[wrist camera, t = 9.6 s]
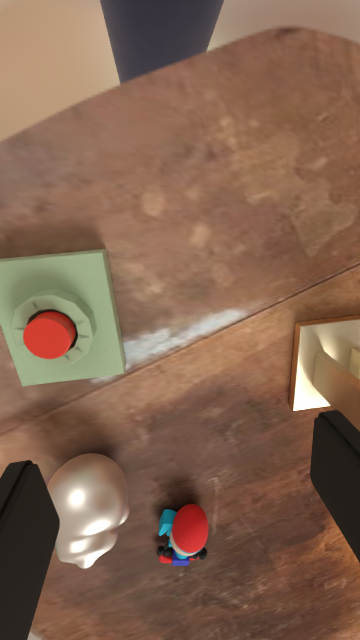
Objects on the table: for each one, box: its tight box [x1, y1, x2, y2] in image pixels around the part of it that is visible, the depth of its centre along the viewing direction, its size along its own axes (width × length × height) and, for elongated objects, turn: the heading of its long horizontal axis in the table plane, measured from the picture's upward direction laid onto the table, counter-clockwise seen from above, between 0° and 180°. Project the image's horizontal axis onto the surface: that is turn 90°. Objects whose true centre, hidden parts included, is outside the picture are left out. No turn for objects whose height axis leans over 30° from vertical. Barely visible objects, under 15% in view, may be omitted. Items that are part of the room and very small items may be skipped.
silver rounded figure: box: [47, 453, 130, 569], centre depth 30 cm, size 9×10×10 cm
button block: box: [0, 249, 126, 386], centre depth 25 cm, size 12×10×4 cm
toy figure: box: [157, 504, 208, 566], centre depth 38 cm, size 8×5×15 cm
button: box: [23, 311, 75, 359], centre depth 23 cm, size 4×4×2 cm
